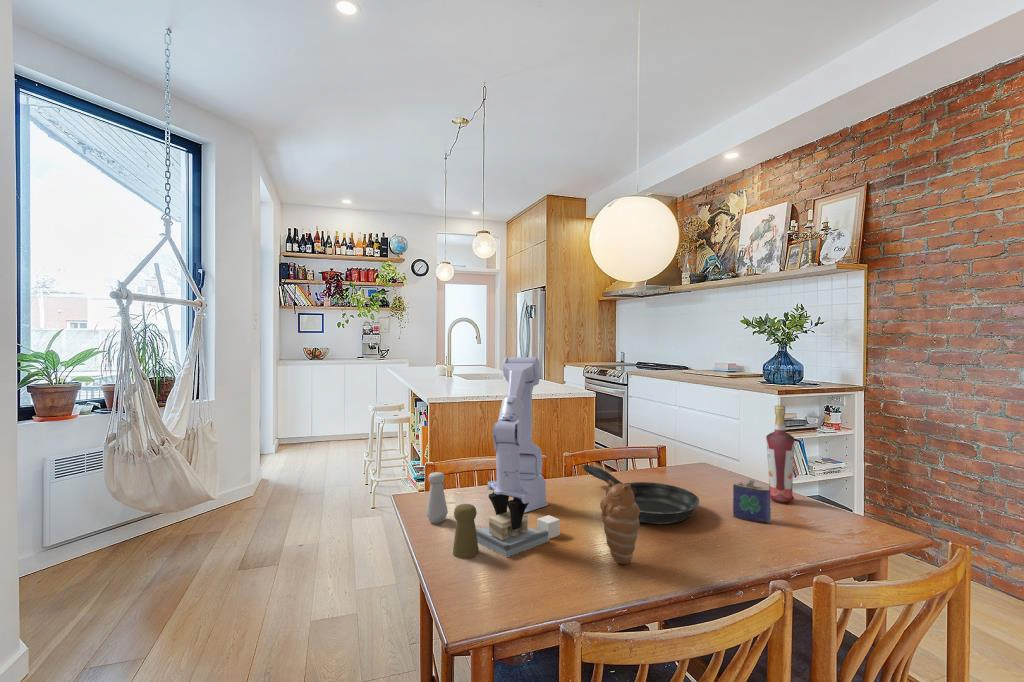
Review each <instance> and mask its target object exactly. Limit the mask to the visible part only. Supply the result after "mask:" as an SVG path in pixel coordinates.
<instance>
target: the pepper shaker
mask: <svg viewBox="0 0 1024 682" xmlns="http://www.w3.org/2000/svg"><path fill="white" fill-rule="evenodd" d="M477 513H478V512H477V509H476V506H474V504H471V503H462V504H458V505H457V506H456V507H455V508H454V511H453V514H454V515H453V517H454V519H455V521H456V523H455V531H454V539H453V540H454V541H453V547H452V548H453V551H452V556H454V557H456V558H457V559H464V558H466V559H472V558H475V557H476V555H477V556H479V553H480V549H479V543H478V542H477V535H476V529H477V528H476V522H475V520H476V517H477ZM474 556H475V557H474ZM471 557H472V558H471Z"/></svg>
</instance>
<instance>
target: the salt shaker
mask: <svg viewBox="0 0 1024 682" xmlns="http://www.w3.org/2000/svg"><path fill="white" fill-rule="evenodd" d="M427 477H428V482H429V483H430V485H429V490H428V491H429V492H428V498H427V504H426V511H425V512H426V513H425V514H426V517H427V518H428V520H429V522H430V523H431V524H441V523H444V522H445V520H446V517H447V515H448V513H449V511H448V506H447V500H446V496H445V491H444V486H443V482H444V481H445V474H444V473H443V472H440V471H436V472H435V471H433V472H431V473H429V474H428V476H427Z"/></svg>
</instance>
